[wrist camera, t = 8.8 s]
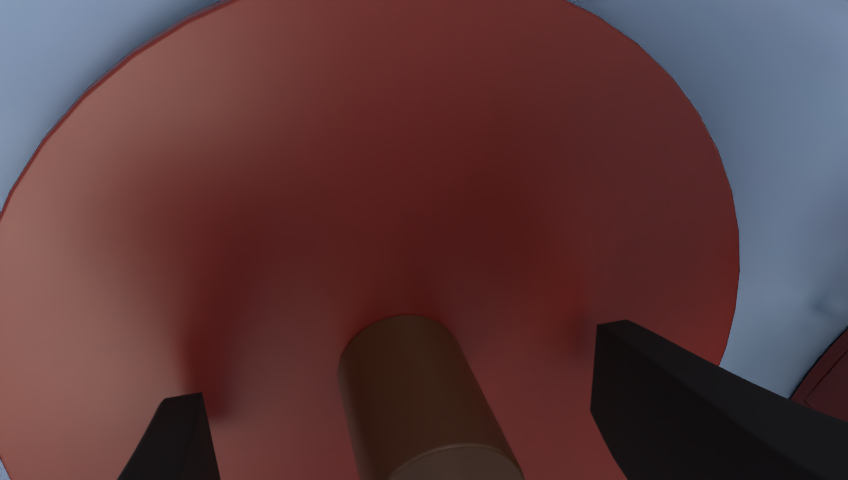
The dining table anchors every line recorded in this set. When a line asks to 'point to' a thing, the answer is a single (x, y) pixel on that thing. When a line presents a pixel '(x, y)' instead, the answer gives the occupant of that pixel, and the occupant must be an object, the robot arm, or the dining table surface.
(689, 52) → the dining table surface
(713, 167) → the pot lid
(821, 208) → the dining table surface
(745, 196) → the dining table surface
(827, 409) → the pot
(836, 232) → the dining table surface
